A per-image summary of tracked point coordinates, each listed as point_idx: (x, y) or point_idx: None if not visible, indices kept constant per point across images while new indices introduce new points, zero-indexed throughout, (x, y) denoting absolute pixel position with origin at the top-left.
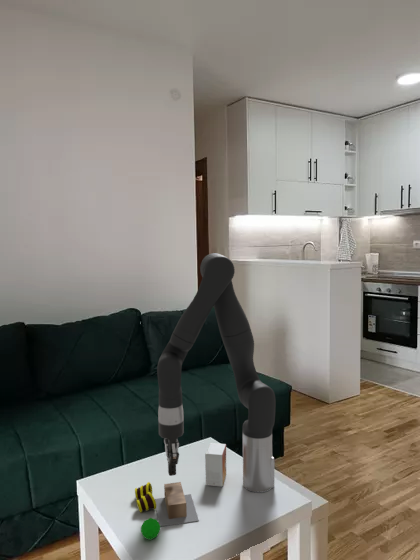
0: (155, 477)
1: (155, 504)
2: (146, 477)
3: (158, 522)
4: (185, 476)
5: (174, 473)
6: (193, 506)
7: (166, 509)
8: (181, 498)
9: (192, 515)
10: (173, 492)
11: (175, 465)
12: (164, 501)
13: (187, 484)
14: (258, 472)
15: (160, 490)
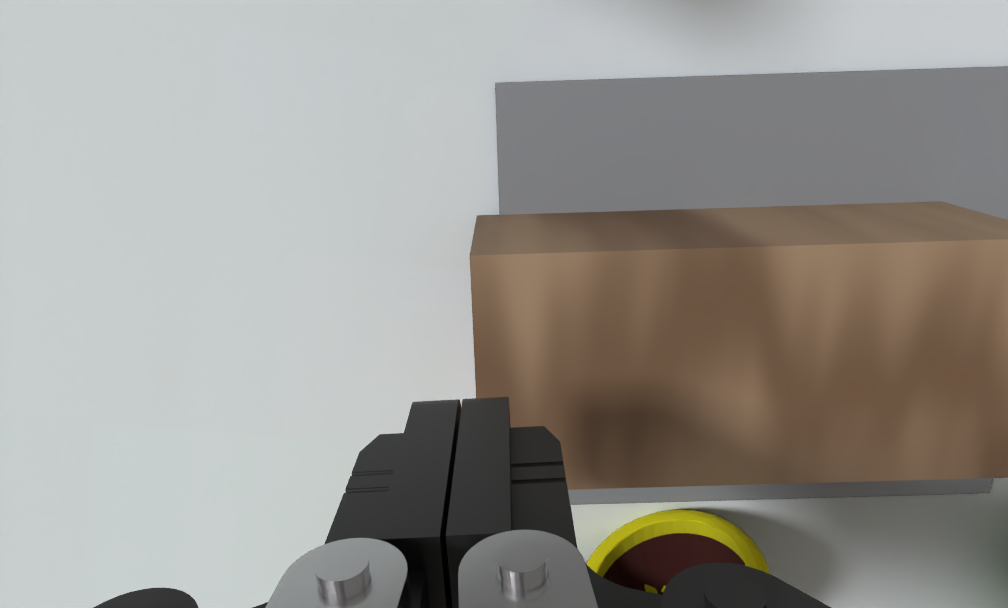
0: (47, 471)
1: (764, 559)
2: (45, 561)
3: (926, 494)
4: (26, 95)
5: (556, 447)
6: (774, 87)
7: None
8: (926, 293)
9: (949, 128)
10: (734, 389)
11: (514, 508)
12: None
13: (238, 94)
14: None
15: (336, 434)
